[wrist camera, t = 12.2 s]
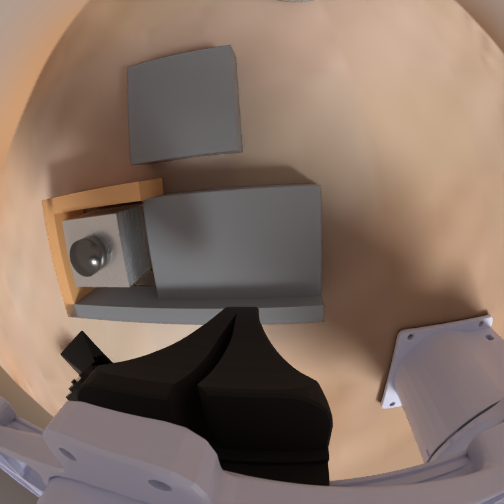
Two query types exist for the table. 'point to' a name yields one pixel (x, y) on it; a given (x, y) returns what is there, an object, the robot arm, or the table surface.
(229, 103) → the gray square block
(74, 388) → the black boxy piece
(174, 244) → the rail
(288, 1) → the coffee cup
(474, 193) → the table surface
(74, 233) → the metal block
